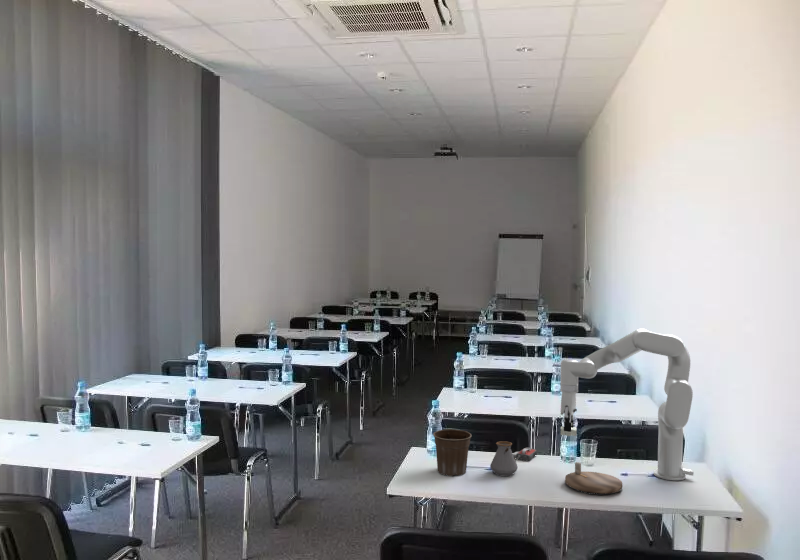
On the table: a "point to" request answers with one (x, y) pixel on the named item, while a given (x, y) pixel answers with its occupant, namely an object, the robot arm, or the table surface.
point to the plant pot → (452, 451)
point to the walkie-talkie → (525, 454)
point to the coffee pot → (504, 460)
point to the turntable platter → (592, 481)
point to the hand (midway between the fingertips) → (568, 429)
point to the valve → (573, 432)
